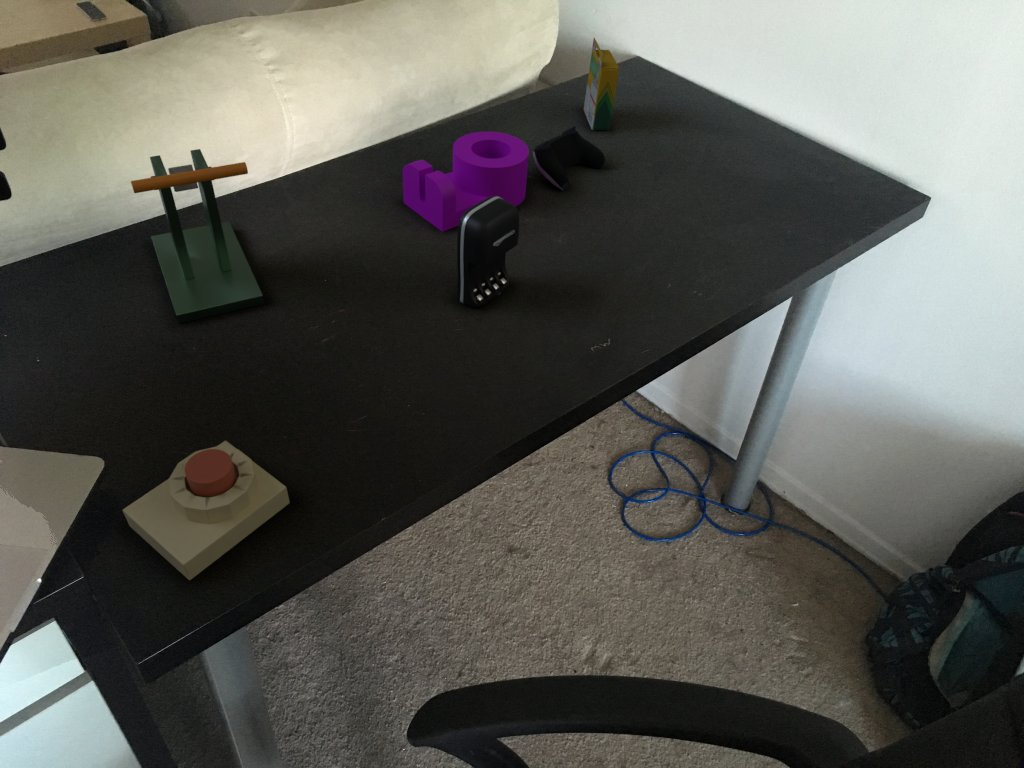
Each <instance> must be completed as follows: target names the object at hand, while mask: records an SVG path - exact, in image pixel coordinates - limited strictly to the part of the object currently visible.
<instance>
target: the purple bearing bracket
mask: <svg viewBox="0 0 1024 768" xmlns="http://www.w3.org/2000/svg"><path fill="white" fill-rule="evenodd" d="M529 155H530V149H529V147H528V145H527V144H526V142H524V141H523V140H522V139H520V138H518V137H516V136H514V135H511V134H509V133H504V132H500V131H499V132H498V131H475V132H470V133H467V134H464V135H462V136H460V137H458V138H457V139H456V140H455V141H454V143H453V145H452V171H449V172H447V173H444V172H442V171H441V170H435V171H434V166H433V164H430V163H429V162H427V161H426V160H424V159H419V160H416V161H413V162H410V163H407V164H405V165H404V166H403V168H402V189H403V190H402V191H403V194H402V195H403V204H404V205H406V207H408V208H410V209H411V210H412V211H413V212H414V213H416V214H417V215H419V216H420V217H422V218H423V219H424V220H425V221H427V222H429V223H430V224H431V225H432V226H434V227H435V228H436V229H438V231H441V232H442V233H443V232H446V231H448V230H451V229H452V228H455V227H458V225H459V221H460V218H461V216H462V215H463V213H464V212H465V211H467V210H468V209H469V208H471V207H473V206H474V205H476V204H477V203H479V202H481V201H483V200H484V199H486V198H488V197H491V196H498V197H500V198H502V199H503V200H505V201H507V202H509V203H511V204H513V205H514V206H515V207H516V208H517V207H518V206H519V205H521V204H522V203H523V201H524V200H525V198H526V193H527V192H526V191H527V180H528V179H527V178H528V168H529V157H530V156H529Z"/></svg>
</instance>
